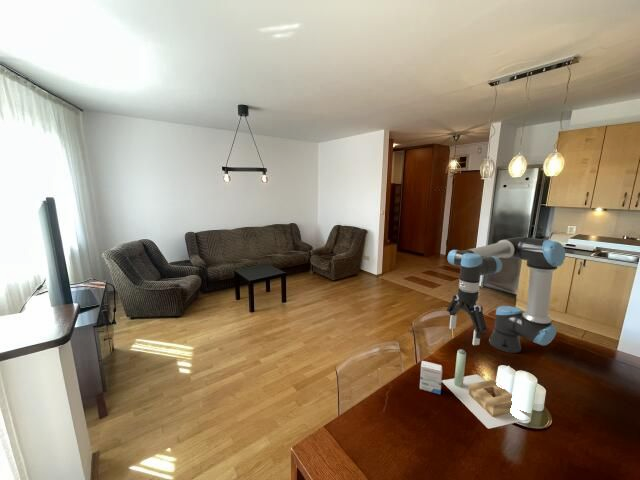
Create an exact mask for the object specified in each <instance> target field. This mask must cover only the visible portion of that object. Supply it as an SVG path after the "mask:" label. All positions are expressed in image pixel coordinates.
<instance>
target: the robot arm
mask: <svg viewBox="0 0 640 480" xmlns="http://www.w3.org/2000/svg"><path fill="white" fill-rule="evenodd" d="M500 258H503V259H509V258H514V259H518V260H523V261H526V267H528V269H529V277H528V278H529V279H528V289H527V291H528V292H527V299H526V311H524V312H523V309H521V308H519V307H517V306H516V307H515V306H511V305H500V306H498V307H497V308H496V310H495V311H496V312H495V319H494V328H493V331H492V332H491V334H490V336H489V339H488V343H489V342H490V343H489V345H491V346H492V347H493V348H495V349H496V350H499V351H501V352H504V353H510V354H516V353H517V354H518V353H521V350H522V344H521V342H520V341H521V340H520V337H522V338H525V340H528V341H531V342H533V343H535V344H538V345H540V346H547V345H549V344H550V343H551V342H552V341H553V340H554V339H555V337H556V334H557V332H558V328H557V326H555V325H554V324H552V320H553V319H552V318H551V317H550V316H549V312H550V300H551V293H552V291H551V290H552V281H553V272H554V271H556V270H558V267H561V266H562V265H564V261H565V259H566V249H565V247H564V245H563V244H562V243H561V242H559V241H556V240H555V241H554V240H551V239H542V238H534V237H527V236H518V237H510V238H505V239H501V240H498V241H497V242H496V243H491V244H487V245H482V246H478V247H475V248H468V249H466V250H464V249H463V250H459V249H452V250H450V251H449V252H448V255H447V261H448V264H449V265H453V266H455V267H459V268H460V270H459V280H458V281H459V282H458V290H457V294H455V295H453V296H452V300H451V301H450V303H449V304H448V307H447V308H446V312H448V313H449V329H450V330H452V329H453V330H454V329H456V328H457V327H456V326H457V317H458V315H457V313H458V312H460V311H461V310H462V311H464V312H466V313H467V314H468V315H469V316H470V319H471V321H472V324H473V326H474V328H475V329H474V330H473V335H472V336H473V338H472V345H473V346H479V345H480V341H481V339H482V335H483V333H485V332H488V329H487V328H488V327H487V324H486V319H485V317H484V312H483V309H484V308H483V306H482V305H481V306H480V305H477V301H479V300H478V299H479V291H480V284H481V283H480V282H481V276H487V275H493V274H497V273H499V272H501V270H502V268H503V262H502V260H501V259H500Z"/></svg>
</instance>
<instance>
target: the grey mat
mask: <svg viewBox="0 0 640 480" xmlns="http://www.w3.org/2000/svg"><path fill="white" fill-rule="evenodd" d="M454 379H455V377H454V378H449V379H442V382H441V383H442V384H443V385H445V386H446V388H447V389H449V390H450V392H452V394H454V396H455V397H456V398H457V399H459V400H460V401H461V403H462V404H463V405H465V407H466V408H467V409H468V410H469V411H470V412H471V413H472V414H473V415H474V416H475V417H476V418H477V420H479V421H480V423H482V424H483V425H484V426H485V428H487V429H493V428H498V427H502V426H506V425H510V424H516V423H518V422H523V421H522V420H519V419H517V418H515V417H514V416H512V414H511V413H508V414H503V415H499V416H494V417H492V416H491V415H490V414H489V413H488V412H487V411H486V410H485V409H484V408H482V407H481V406H480V405H479V404H478V403H477V402H476V401H475V400H474V399H473V398H472V397H471V396H470V395H469V386H470V384H472V383H478V382H483V381H486V380H485V379H484V378H482V377H481V376H480V375H478V374H476V373H475V374H472V375H466V376H465V375H464V379H463V387H457V386H455V385H454Z"/></svg>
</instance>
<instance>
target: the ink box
mask: <svg viewBox="0 0 640 480" xmlns="http://www.w3.org/2000/svg"><path fill="white" fill-rule="evenodd" d="M419 376H420V377H419V378H420V379H419V390H424V391H427V392H430V393H434V394H438V395H441V392H442V383H443V382H442V380H443V379H442V378H443V366H442V365H441V364H437V363H434V362H430V361H429V362H428V361H427V360H426V361H425V360H421V364H420V375H419Z"/></svg>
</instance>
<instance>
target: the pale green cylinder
mask: <svg viewBox="0 0 640 480" xmlns="http://www.w3.org/2000/svg"><path fill="white" fill-rule="evenodd" d="M466 359H467V352H466V350H464V349H463V348H462V349H461V348H459V349H458V350H457V353H456V361H455V370H454V371H455V372H454V378H455V379H454V385H455V386H457V387H463V379H464V377H465V367H466Z"/></svg>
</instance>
